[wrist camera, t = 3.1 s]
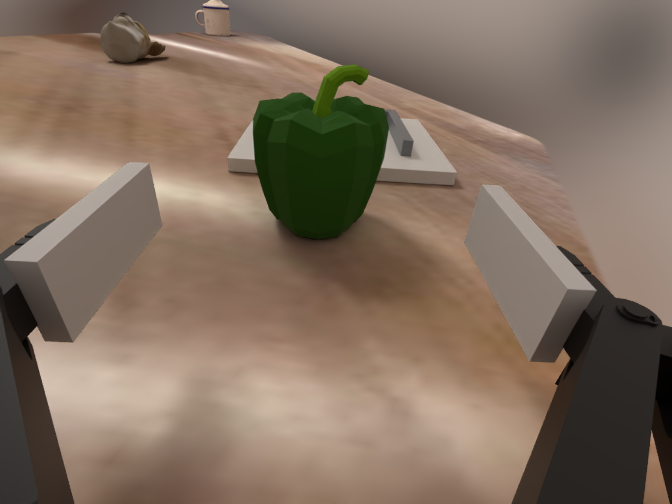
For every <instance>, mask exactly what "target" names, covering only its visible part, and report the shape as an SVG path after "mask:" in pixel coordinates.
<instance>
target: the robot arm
mask: <svg viewBox="0 0 672 504" xmlns="http://www.w3.org/2000/svg"><path fill="white" fill-rule="evenodd" d="M161 226H162V221H161V217H160V212H159V207H158V202H157V198H156V193H155V188H154V184H153V179H152V174H151V169H150V165H149V163H136V162H128V163H127V164H126V165H125V166H123V167H122V168H121V169H119V170H118V171H117V172H116V173H114V174H113V175H112V176H111V177H109V178H108V179H107V180H105V181H104V182H103V183H102V184H100V185H99V186H98V187H97V188H95V189H94V190H93V191H91V192H90V193H89V194H88V195H86V196H85V197H84V198H83V199H81V200H80V201H79V202H77V203H76V204H75V205H74V206H72V207H71V208H70V209H69V210H67V211H66V212H65V213H63V214H62V215H61V216H60V217H58V218H57V219H53V220H50V221H48V222H46V223H44V224H41V225H39V226H37V227H36V228H34V229H33V230H32V231H30V232H29V233H28V234H26V235H25V238H21V239H20V240H18V241H17V242H16V243H15V245H12V246H10V247H9V248H8V249H7V250H5V251H4V252H3V253H1V254H0V504H74V500H73V496H72V493H71V489H70V485H69V481H68V478H67V474H66V470H65V466H64V463H63V459H62V455H61V451H60V448H59V444H58V440H57V436H56V433H55V429H54V425H53V421H52V418H51V414H50V410H49V406H48V403H47V399H46V395H45V391H44V388H43V384H42V380H41V376H40V373H39V369H38V365H37V361H36V358H35V354H34V350H33V346H32V344H31V342H30V340H29V338H28V337H27V336H28V335H29V334H30V333H31V332H32V331H33V330H34V329H35V327H36V326H37V327H38V329H39V331H40V333H41V334H42V336H43V338H44V340H45V341H51V342H74V341H75V339H76V338H77V337H78V335H79V334H80V333H81V332H82V330H83V329H84V328H85V326H86V325H87V324H88V322H89V321H90V320H91V318H92V317H93V316H94V314H95V313H96V312H97V311H98V309H99V308H100V307H101V305H102V304H103V303H104V301H105V300H106V299H107V297H108V296H109V295H110V293H111V292H112V291H113V290H114V288H115V287H116V286H117V284H118V283H119V282H120V280H121V279H122V278H123V276H124V275H125V274H126V272H127V271H128V270H129V269H130V267H131V266H132V265H133V263H134V262H135V261H136V259H137V258H138V257H139V255H140V254H141V253H142V251H143V250H144V249H145V247H146V246H147V245H148V244H149V242H150V241H151V240H152V238H153V237H154V236H155V234H156V233H157V232H158V230H159V229H160V228H161ZM464 243H465V245H466V247H467V249H468V250H469V252H470V254H471V256H472V258H473V260H474V261H475V263H476V265H477V267H478V269H479V270H480V272H481V274H482V276H483V278H484V280H485V281H486V283H487V285H488V287H489V289H490V290H491V292H492V294H493V296H494V298H495V299H496V301H497V303H498V305H499V307H500V309H501V310H502V312H503V314H504V316H505V318H506V319H507V321H508V323H509V325H510V327H511V329H512V330H513V332H514V334H515V336H516V338H517V339H518V341H519V343H520V345H521V347H522V349H523V350H524V352H525V354H526V356H527V358H528V359H529V361H532V362H555V361H556V359H557V358H558V356H559V354H560V353H561V351H562V349H563V348H564V349H565V351H566V352H567V354H568V355H569V357H570V360H569V362H568V363H567V365H566V367H565V368H564V370H563V371H562V373H561V375H560V376H559V378H558V380H557V381H556V383H555V384H556V385H558V387H557V389H556V392H555V394H554V397H553V399H552V402H551V404H550V407H549V410H548V412H547V415H546V417H545V420H544V422H543V425H542V427H541V430H540V432H539V435H538V438H537V440H536V443H535V445H534V448H533V450H532V453H531V455H530V458H529V460H528V463H527V466H526V468H525V471H524V473H523V476H522V478H521V481H520V483H519V486H518V488H517V491H516V493H515V496H514V499H513V501H512V504H643V500H644V491H645V482H646V473H647V465H648V456H649V447H650V438H651V429H652V433H653V437H654V441H655V445H656V449H657V453H658V457H659V462H660V466H661V470H662V474H663V478H664V482H665V486H666V490H667V494H668V498H669V502H670V504H672V327H669V326H665V325H662V321H661V320H660V319H659V318H658V317H657V315H655V314H654V313H653V312H652V311H650V310H649V309H648V308H646V307H644V306H642V305H640V304H638V303H636V302H633V301H630V300H626V299H620V298H615V297H614V296H613V295H612V294H611V293H610V292H609V291H608V290H607V288H606V287H605V286H604V285H603V284H602V283H601V282H600V281H599V280H598V279H597V278H596V277H595V276H594V275H591V272H590V271H589V270H588V269H587V268H586V267H584V265H583V263H582V262H581V261H580V260H579V259H578V258H577V257H576V256H575V255H573V254H572V253H570V252H569V251H567V250H565V249H564V248H562V247H561V246H555V245H554V244H553V242H552V241H551V240H550V239H549V238H548V237H547V236H546V235H545V234H544V233H543V232H542V230H541V229H540V228H539V227H538V226H537V225H536V224H535V223H534V222H533V221H532V220H531V219H530V217H529V216H528V215H527V214H526V213H525V212H524V211H523V210H522V209H521V208H520V207H519V205H518V204H517V203H516V202H515V201H514V200H513V199H512V198H511V197H510V196H509V195H508V193H507V192H506V191H505V190H504V189H503V188H502V187H501V186H498V185H481V188H480V192H479V195H478V198H477V202H476V205H475V208H474V211H473V215H472V218H471V221H470V224H469V228H468V231H467V234H466V238H465V241H464Z"/></svg>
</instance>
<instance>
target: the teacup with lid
mask: <svg viewBox="0 0 672 504" xmlns="http://www.w3.org/2000/svg"><path fill="white" fill-rule="evenodd" d="M203 9H204V10H199V11H197V12H196V14H195V18H196V21H197V22H198V24H199V25H201V26H204V27H205V29H206V34H207V35H212V36H230V21H229V7H228V6H227V5H225V4H223V3H222V2H221V1H218V0H210V1H209V2H207V3H205V4H203ZM200 12H204V18H205V25H204V24H201V23H200V22H199V20H198V13H200Z"/></svg>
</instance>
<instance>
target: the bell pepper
mask: <svg viewBox="0 0 672 504" xmlns="http://www.w3.org/2000/svg"><path fill="white" fill-rule="evenodd" d="M368 74H369V71H368V70H366V69H364V68H362V67H359V66H357V65H346V66H338V67H337V68H335V69H334V70H333V71H331V72H330V73H329V74H327V75H326V76H325V77H324V78H323V81H322V84H321V87H320V89H319V92H318V95H317V98H316V101H314V100H312V99H311V98H310V97H308V96H306V95H304V94H303V93H291V94H289V95H287V96H286V97H284V98H282V99H271V100H263V101H260V102H259V105H258V107H257V110H256V113H255V115H254V118H253V143H254V157H255V165H256V169H257V172H258V176H259V179H260V183H261V186H262V190H263V193H264V195H265V198H266V201H267V204H268V207H269V210H270V211H271V212H272V213H273V215H274V216H275V217H276V219H278V220H282V221H283V223H284V224H285V225H286V227H288V228H289V229H290V230H291V231H292V232H293V233H295V234H296V235H297V236H301V237H308V238H314V239H322V238H332V237H338V236H339V235H340V234H342V233H343V232H344V231H346V230H347V229H348V228H349V227H350V226H351V224H352V223H354V222H356V220H357V219H358V218H359V217H360V216H361V215H362V214H363V212H364V210H365V207H366V205H367V203H368V201H369V198H370V196H371V193H372V191H373V188H374V186H375V183H376V180H377V177H378V175H379V172H380V169H381V166H382V163H383V160H384V156H385V150H386V144H387V138H388V132H389V125H388V121H387V117H386V113H385V110H384V109H383V108H379V107H375V106H371V105H367V104H364V103H363V102H362V101H361V100H360V99H359V98H357V97H350V96H345V97H341V98H338V99H334V97H335V94H336V91H337V89H338V87H339V86H340V85H341V84H343V83H344V82H347V81H354V82H355V83H357V84H358V85H362V84H363V82H364V81H365V80H366V79H367V77H368Z"/></svg>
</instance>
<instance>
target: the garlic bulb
mask: <svg viewBox="0 0 672 504" xmlns="http://www.w3.org/2000/svg"><path fill="white" fill-rule="evenodd" d="M99 40H100V44H101V46H102V49H103V50H104V52H105V53H106V55H107V56H108V57H109V58H110V59H112V60H114V61H117V62H120V63H129V62H134V61H136V60H139V59H142V58H144V57H146V56H147V55H152V56H157V55H160V54H161V53H162V52H163V51H164V50H165V46H162V45H161V44H159V43H158V42H151V41H150V38H149V36H148V34H147V32H146V30H145V28H144V27H143V26H142V25H141V24H140V23H138V22H136V21H133V20H132V19H131V18H130V17H128V15H127V14H126V13H120V14H119V15H117V16H116V17H115V18H114V19H113V22H112V21H109V22H108V24H107V25H105V26H104V28H103V29H102V31H101V36H100V38H99Z"/></svg>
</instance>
